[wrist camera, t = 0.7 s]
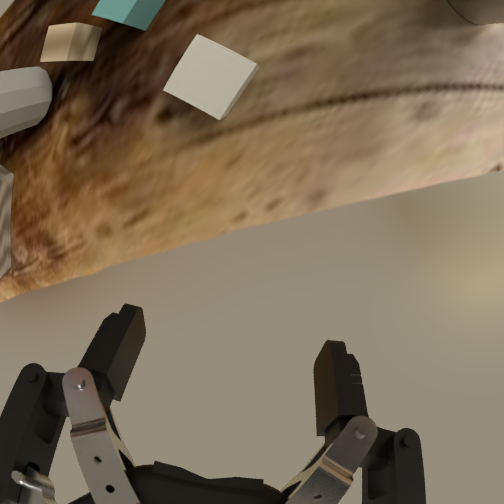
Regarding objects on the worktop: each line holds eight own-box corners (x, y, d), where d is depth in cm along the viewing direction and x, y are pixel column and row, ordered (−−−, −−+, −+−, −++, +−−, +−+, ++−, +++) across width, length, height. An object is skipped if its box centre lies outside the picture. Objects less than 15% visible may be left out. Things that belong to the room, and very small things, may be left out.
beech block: (76, 29, 23) (49, 26, 18) (102, 27, 23) (76, 22, 18) (67, 60, 25) (40, 62, 20) (93, 61, 26) (66, 60, 21)
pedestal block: (208, 41, 25) (197, 34, 21) (259, 68, 27) (256, 64, 23) (178, 89, 29) (162, 90, 24) (227, 115, 30) (219, 120, 26)
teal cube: (136, -10, 21) (114, -22, 15) (166, -1, 22) (147, -14, 17) (117, 21, 23) (91, 14, 18) (145, 31, 24) (122, 23, 19)
